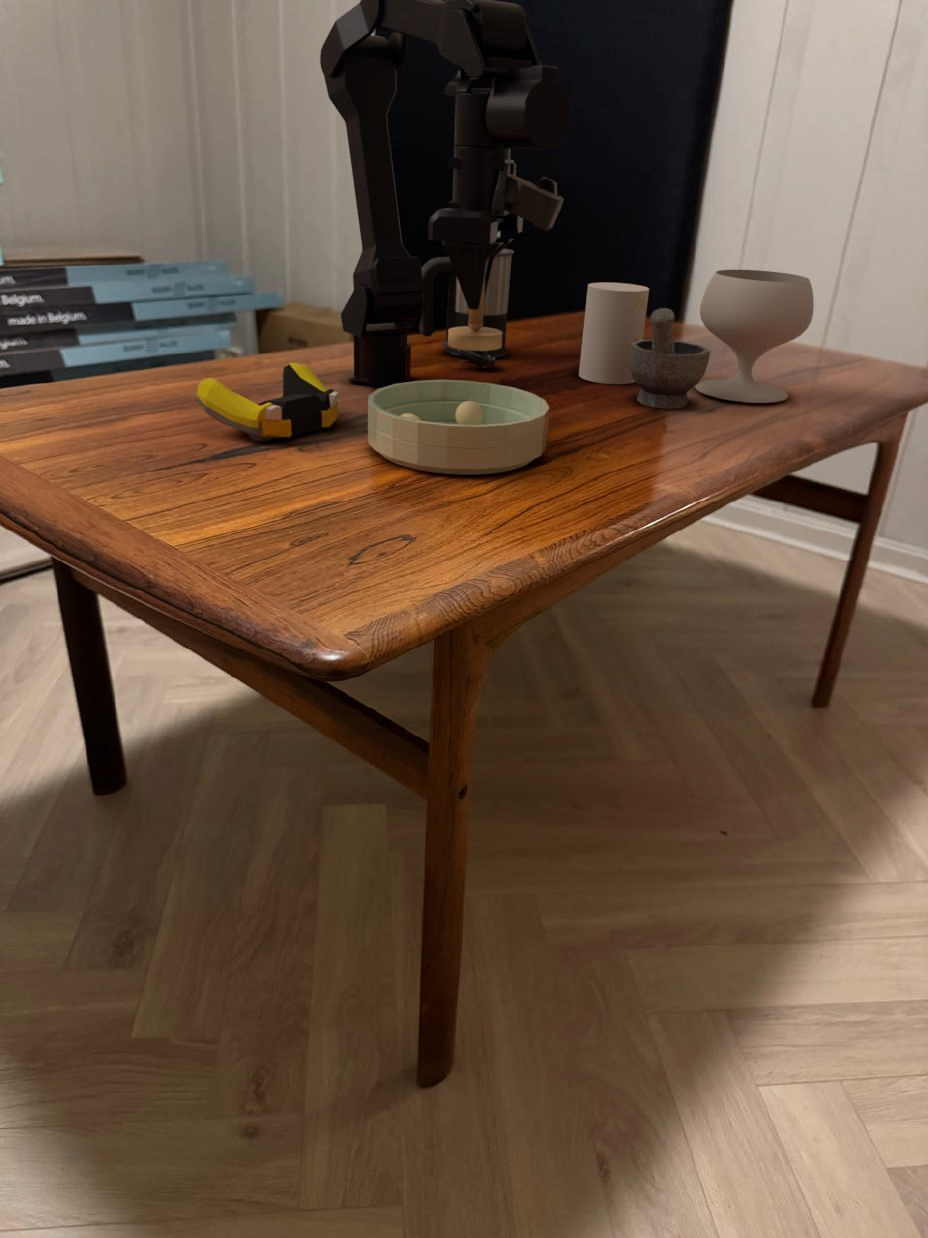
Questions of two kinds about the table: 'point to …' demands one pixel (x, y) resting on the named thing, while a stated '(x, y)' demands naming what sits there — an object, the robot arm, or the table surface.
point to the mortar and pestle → (666, 364)
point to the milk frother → (459, 310)
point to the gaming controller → (273, 406)
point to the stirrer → (475, 333)
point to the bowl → (457, 426)
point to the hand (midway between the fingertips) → (475, 307)
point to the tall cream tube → (611, 331)
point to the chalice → (753, 325)
